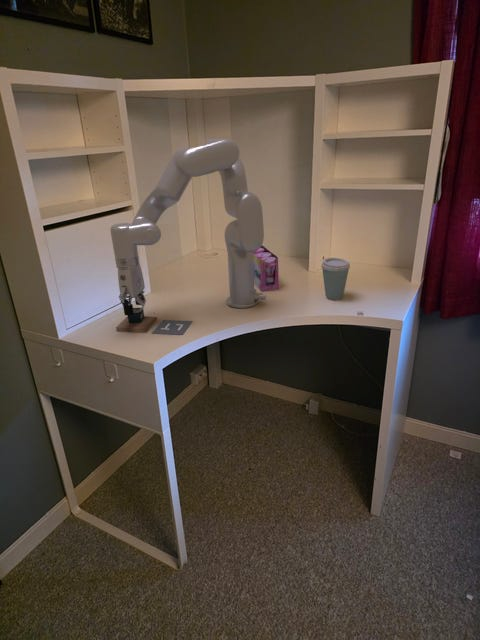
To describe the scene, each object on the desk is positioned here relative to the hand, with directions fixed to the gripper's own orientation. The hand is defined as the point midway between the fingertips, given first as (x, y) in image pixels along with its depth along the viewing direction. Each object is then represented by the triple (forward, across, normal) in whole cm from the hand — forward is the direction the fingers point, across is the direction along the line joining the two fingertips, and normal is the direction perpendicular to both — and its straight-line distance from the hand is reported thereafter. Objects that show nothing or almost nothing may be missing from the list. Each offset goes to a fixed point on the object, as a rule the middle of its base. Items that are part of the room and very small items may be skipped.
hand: (135, 309), depth 148 cm
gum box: (+7, +49, -37) cm, 62 cm away
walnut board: (+6, 0, 0) cm, 6 cm away
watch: (+5, +2, +1) cm, 5 cm away
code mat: (+6, 0, -13) cm, 14 cm away
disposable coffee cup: (+6, +33, -68) cm, 76 cm away
